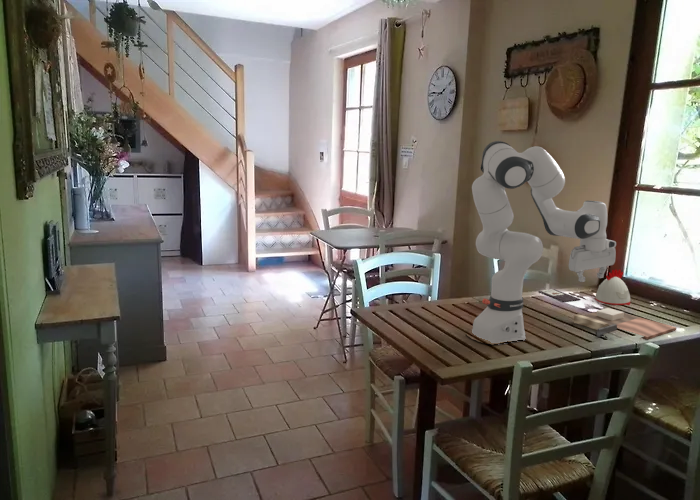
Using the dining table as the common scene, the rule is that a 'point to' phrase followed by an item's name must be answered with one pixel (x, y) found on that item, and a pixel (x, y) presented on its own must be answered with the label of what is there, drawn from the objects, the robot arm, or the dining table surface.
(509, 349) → the dining table surface
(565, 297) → the chocolate bar
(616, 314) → the tile
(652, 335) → the board
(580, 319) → the squeegee
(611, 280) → the kitchen timer
